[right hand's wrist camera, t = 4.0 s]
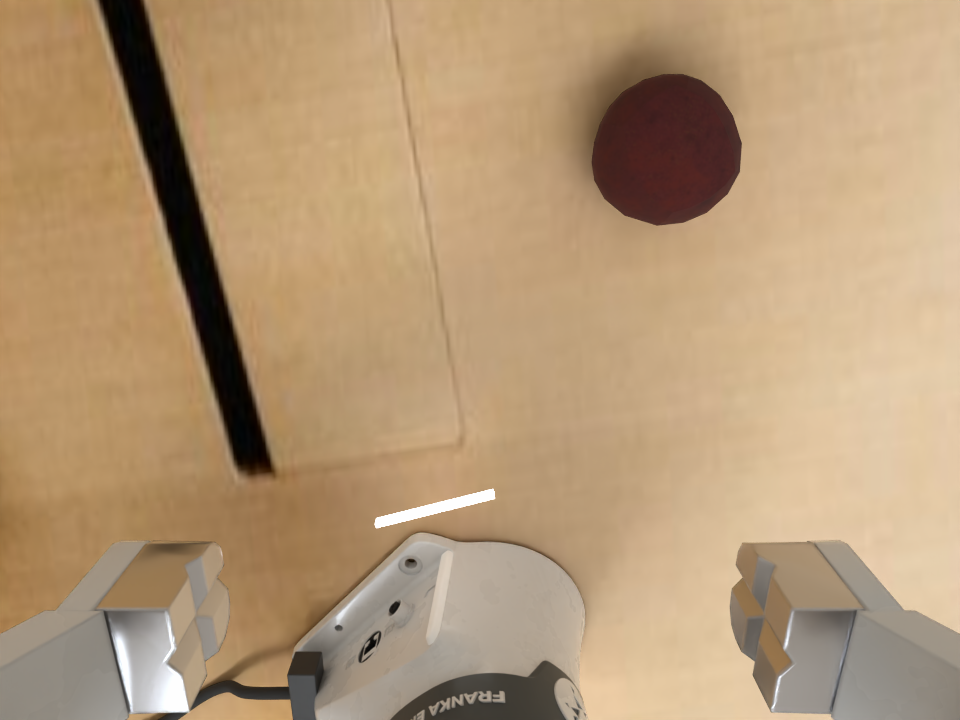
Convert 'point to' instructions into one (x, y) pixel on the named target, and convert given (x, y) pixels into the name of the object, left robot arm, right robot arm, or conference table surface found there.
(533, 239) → the conference table surface
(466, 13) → the conference table surface
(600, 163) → the plum
